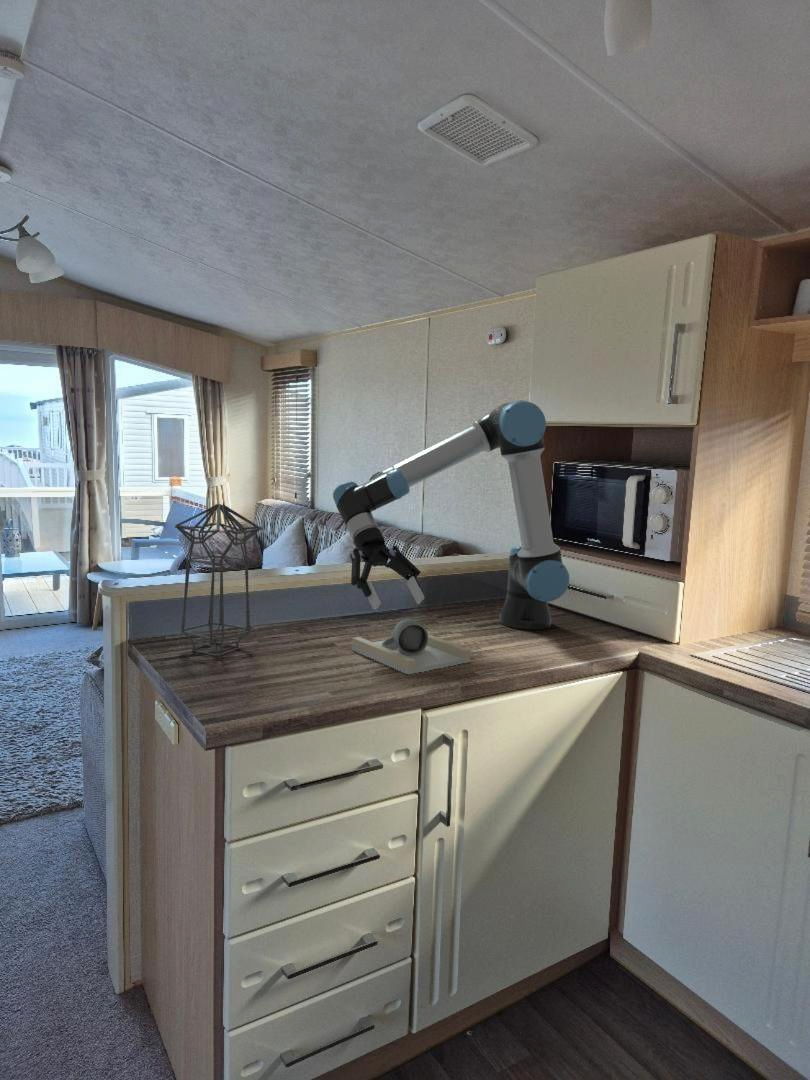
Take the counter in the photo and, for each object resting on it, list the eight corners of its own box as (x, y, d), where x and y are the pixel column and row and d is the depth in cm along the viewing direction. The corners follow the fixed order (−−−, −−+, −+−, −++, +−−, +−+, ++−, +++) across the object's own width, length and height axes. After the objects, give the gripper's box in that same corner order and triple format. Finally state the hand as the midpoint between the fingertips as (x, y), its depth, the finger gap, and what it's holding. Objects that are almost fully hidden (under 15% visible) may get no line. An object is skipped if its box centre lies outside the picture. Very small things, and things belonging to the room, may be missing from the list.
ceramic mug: (420, 645, 180) (421, 615, 179) (428, 655, 172) (429, 623, 171) (378, 646, 177) (379, 616, 176) (384, 656, 169) (385, 624, 168)
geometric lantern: (167, 651, 169) (169, 502, 165) (214, 638, 183) (217, 501, 179) (219, 663, 162) (222, 507, 158) (263, 648, 175) (267, 505, 172)
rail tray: (411, 640, 189) (412, 628, 188) (469, 662, 172) (470, 649, 171) (352, 650, 177) (352, 637, 176) (407, 675, 160) (408, 661, 159)
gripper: (397, 541, 195) (430, 606, 186) (318, 546, 180) (350, 617, 170) (410, 524, 190) (445, 590, 181) (331, 527, 175) (364, 600, 165)
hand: (399, 603), depth 176 cm, fingers open, 13 cm apart
